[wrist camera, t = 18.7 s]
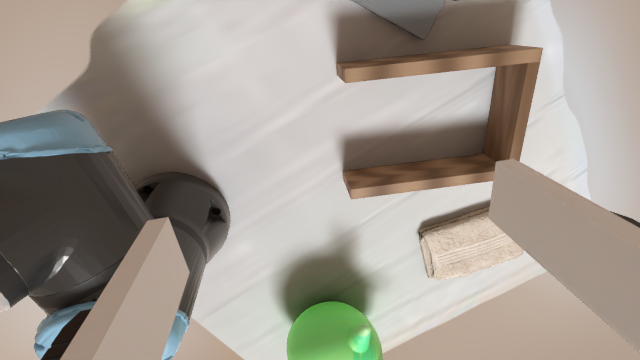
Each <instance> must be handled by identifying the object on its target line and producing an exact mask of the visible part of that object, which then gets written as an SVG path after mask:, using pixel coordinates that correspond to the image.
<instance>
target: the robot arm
mask: <svg viewBox="0 0 640 360" xmlns="http://www.w3.org/2000/svg"><path fill="white" fill-rule="evenodd" d="M112 152H113V149H112V148H111V147H110V146H107V145H106V144H105V142H104V141H103V139H102V138H101V137H100V135H99V134H98V133H97V131H96V130H95V128H94V127H93V126H92V124H91V123H90V122H89V120H88V119H87V118H85V117H84V116H83V115H81V114H79V113H77V112H74V111H69V110H57V111H51V112H46V113H41V114H36V115H31V116H27V117H23V118H18V119H13V120H9V121H5V122H0V312H4V311H6V310H8V309H9V308H11V307H12V306H13V305H15V304H16V303H17V302H19V301H20V300H21V299H23V298H24V297H26V296H27V295H28V296H29V297H30V298H31V299H32V300H34V302H36V303H37V304H38V306H39V307H40V308H41V309H42V310H44V312H45V313H46V314H47V317H46V318H45V319H44V320H43V321H42V322H41V323H40V325H39V326H38V328H37V334H36V336H35V344H34V349H35V352H36V354H37V356H38V357H39V358H40V360H171V359H172V358H173V357H174V355H175V354H176V352H177V350H178V348H179V346H180V343H181V341H182V338H183V335H184V333H185V332H186V331H187V329H188V327H189V320H190V316H191V313H192V310H193V306H194V303H195V299H196V296H197V293H198V289H199V286H200V282H201V279H202V275H203V272H204V269H205V265H206V264H207V263H208V262H209V261H210V260H211V259H212V258H213V256H214V255H215V254H216V253H217V252H218V251H219V250H220V249H221V247H222V246H223V244H224V242H225V240H226V238H227V235H228V231H229V227H230V213H229V209H228V206H227V204H226V202H225V200H224V199H223V197H222V196H221V195H220V193H219V192H218V191H217V190H216V189H215V188H214V187H212V186H211V185H210V184H208V183H207V182H205V181H203V180H201V179H199V178H197V177H194V176H191V175H187V174H182V173H161V174H156V175H153V176H150V177H148V178H146V179H144V180H142V181H141V182H139V183H138V184H137V185H136V186H135V187H134V185H133V184H132V182H131V181H130V179H129V177H128V176H127V174H126V173H125V171H124V170H123V168H122V167H121V165H120V164H119V162H118V160H117V159H116V157H115V156H114V154H113V153H112ZM488 219H490V220H491V221H492V222H493V223H494V224H495V225H496V226H497V227H499V228H500V229H501V230H502V231H503V232H504V233H505V234H507V235H508V236H509V237H510V238H511V239H512V240H513V241H514V242H516V243H517V244H518V245H519V246H520V247H521V248H522V249H523V250H525V251H526V252H527V253H528V254H529V255H530V256H531V257H532V258H534V259H535V260H536V261H537V262H538V263H539V264H540V265H541V266H543V267H544V268H545V269H546V270H547V271H548V272H549V273H551V274H552V275H553V276H554V277H555V278H556V279H557V280H558V281H560V282H561V283H562V284H563V285H564V286H565V287H566V288H567V289H568V290H570V291H571V292H572V293H573V294H574V295H575V296H576V297H577V298H579V299H580V300H581V301H582V302H583V303H584V304H585V305H587V306H588V307H589V308H590V309H591V310H592V311H593V312H594V313H595V314H597V315H598V316H599V317H600V318H601V319H602V320H603V321H604V322H606V323H607V324H608V325H609V326H610V327H611V328H612V329H613V330H615V331H616V332H617V333H618V334H619V335H620V336H621V337H622V338H624V339H625V340H626V341H627V342H628V343H629V344H631V345H632V346H633V347H634V348H635V349H636V350H637V351H639V353H640V223H639V222H637V221H635V220H633V219H631V218H628V217H625V216H623V215H619V214H617V213H614V212H611V211H608V210H606V209H604V208H602V207H601V206H599V205H597V204H595V203H593V202H592V201H590V200H588V199H586V198H584V197H583V196H581V195H579V194H577V193H575V192H573V191H572V190H570V189H568V188H566V187H564V186H563V185H561V184H559V183H557V182H555V181H553V180H552V179H550V178H548V177H546V176H544V175H543V174H541V173H539V172H537V171H535V170H533V169H532V168H530V167H528V166H526V165H524V164H523V163H521V162H519V161H517V160H515V159H509V160H503V161H497V162H496V165H495V172H494V180H493V187H492V194H491V201H490V208H489V215H488Z"/></svg>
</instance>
